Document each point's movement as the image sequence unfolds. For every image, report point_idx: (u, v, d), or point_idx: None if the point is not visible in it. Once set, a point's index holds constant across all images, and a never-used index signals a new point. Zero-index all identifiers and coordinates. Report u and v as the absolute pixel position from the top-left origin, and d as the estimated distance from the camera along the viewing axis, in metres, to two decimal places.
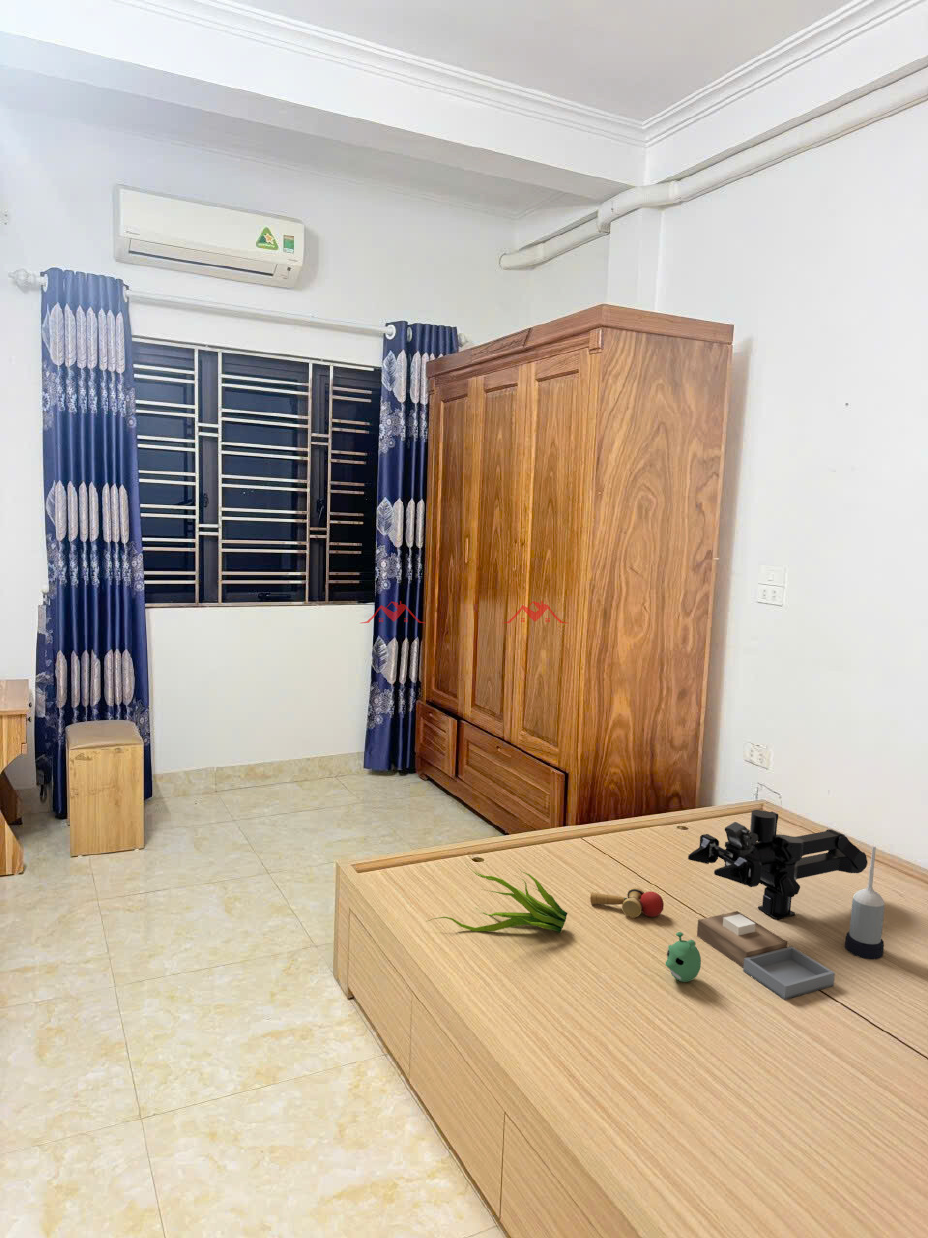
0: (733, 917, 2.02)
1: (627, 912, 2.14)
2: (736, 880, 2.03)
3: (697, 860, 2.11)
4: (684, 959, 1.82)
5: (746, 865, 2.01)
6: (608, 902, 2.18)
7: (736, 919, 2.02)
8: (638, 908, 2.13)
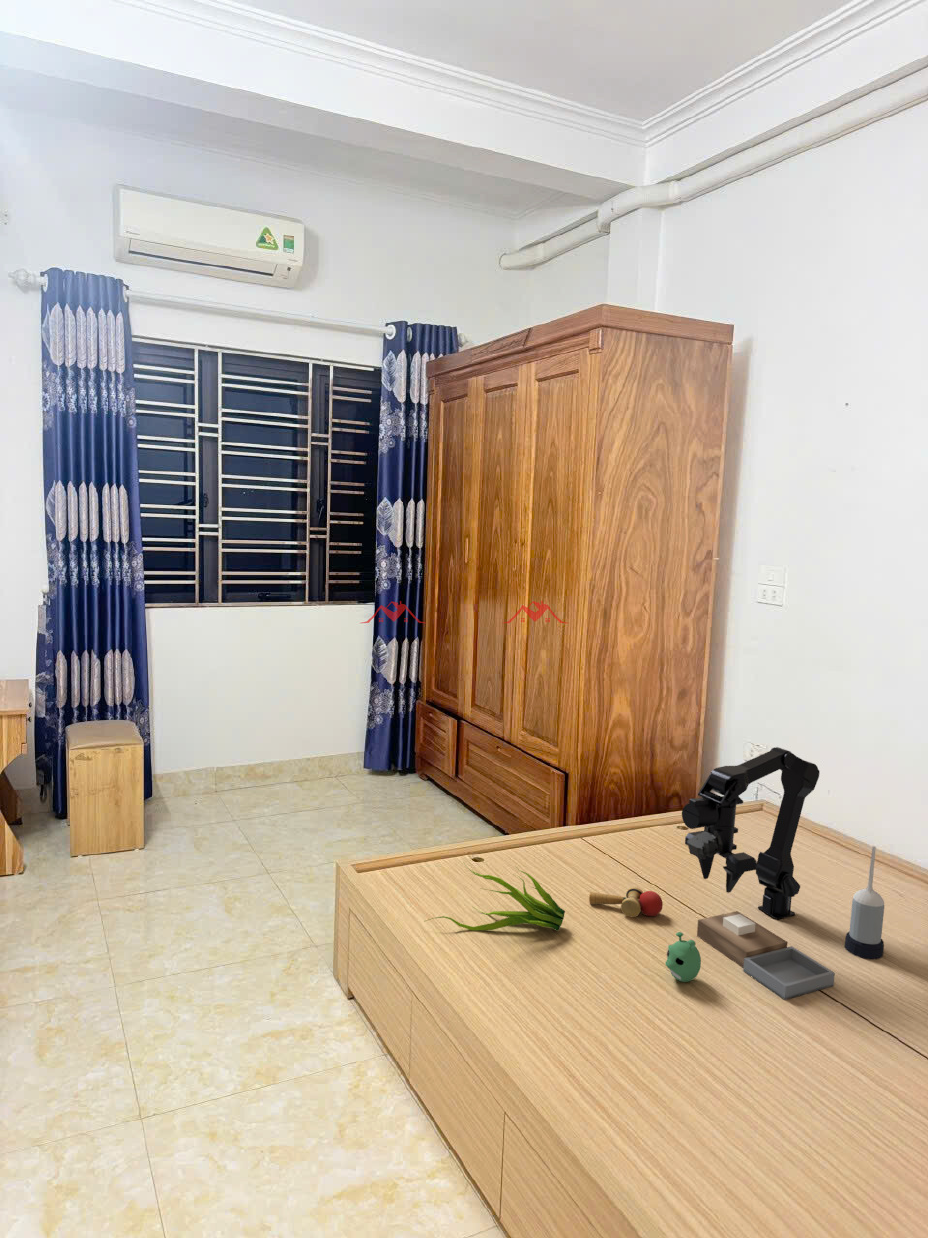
0: (733, 917, 2.02)
1: (626, 912, 2.15)
2: (742, 872, 2.02)
3: (710, 867, 2.11)
4: (684, 959, 1.82)
5: None
6: (607, 902, 2.18)
7: (736, 919, 2.02)
8: (637, 908, 2.13)
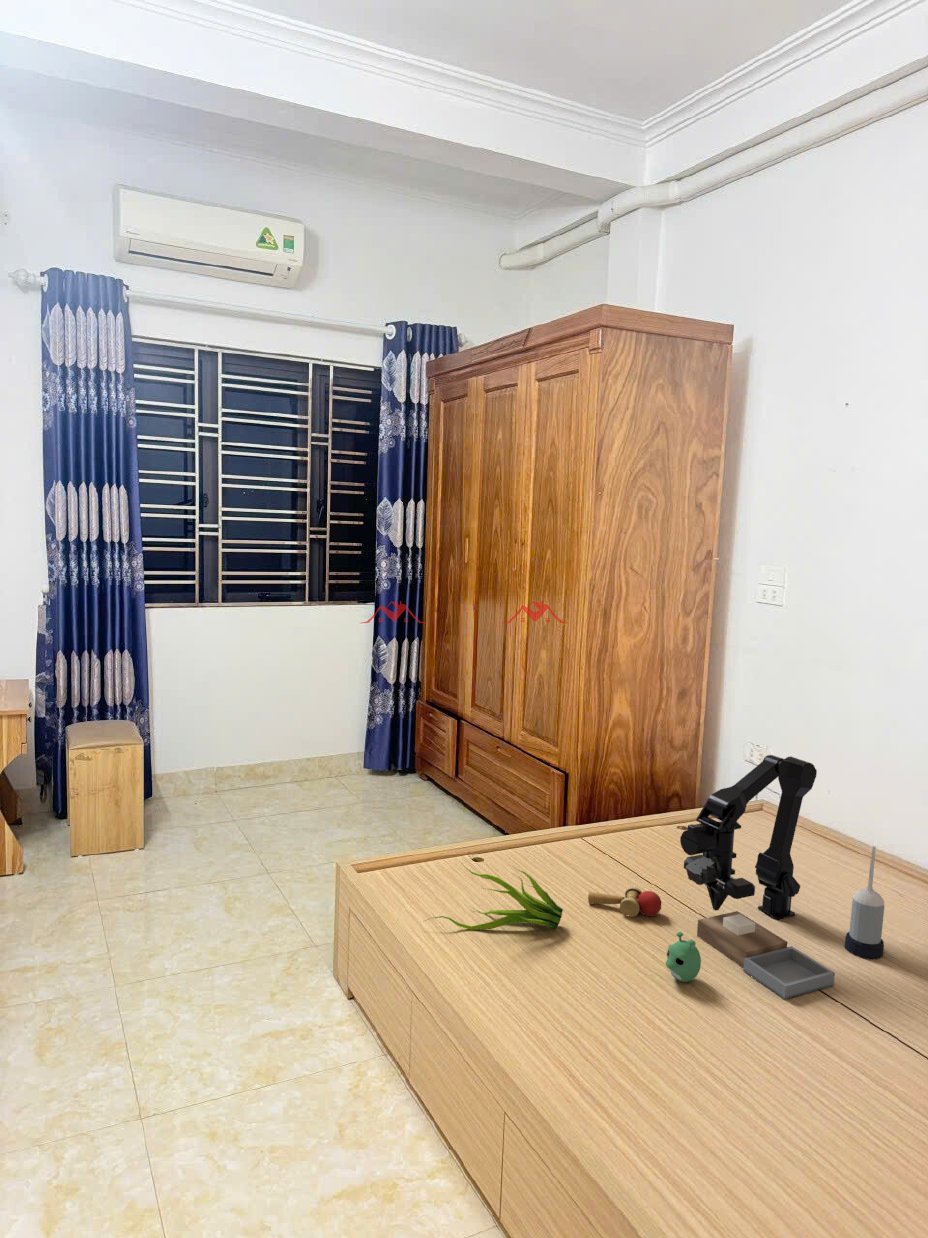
0: (733, 917, 2.02)
1: (625, 911, 2.15)
2: None
3: None
4: (684, 959, 1.82)
5: None
6: (606, 902, 2.18)
7: (736, 919, 2.02)
8: (636, 907, 2.13)
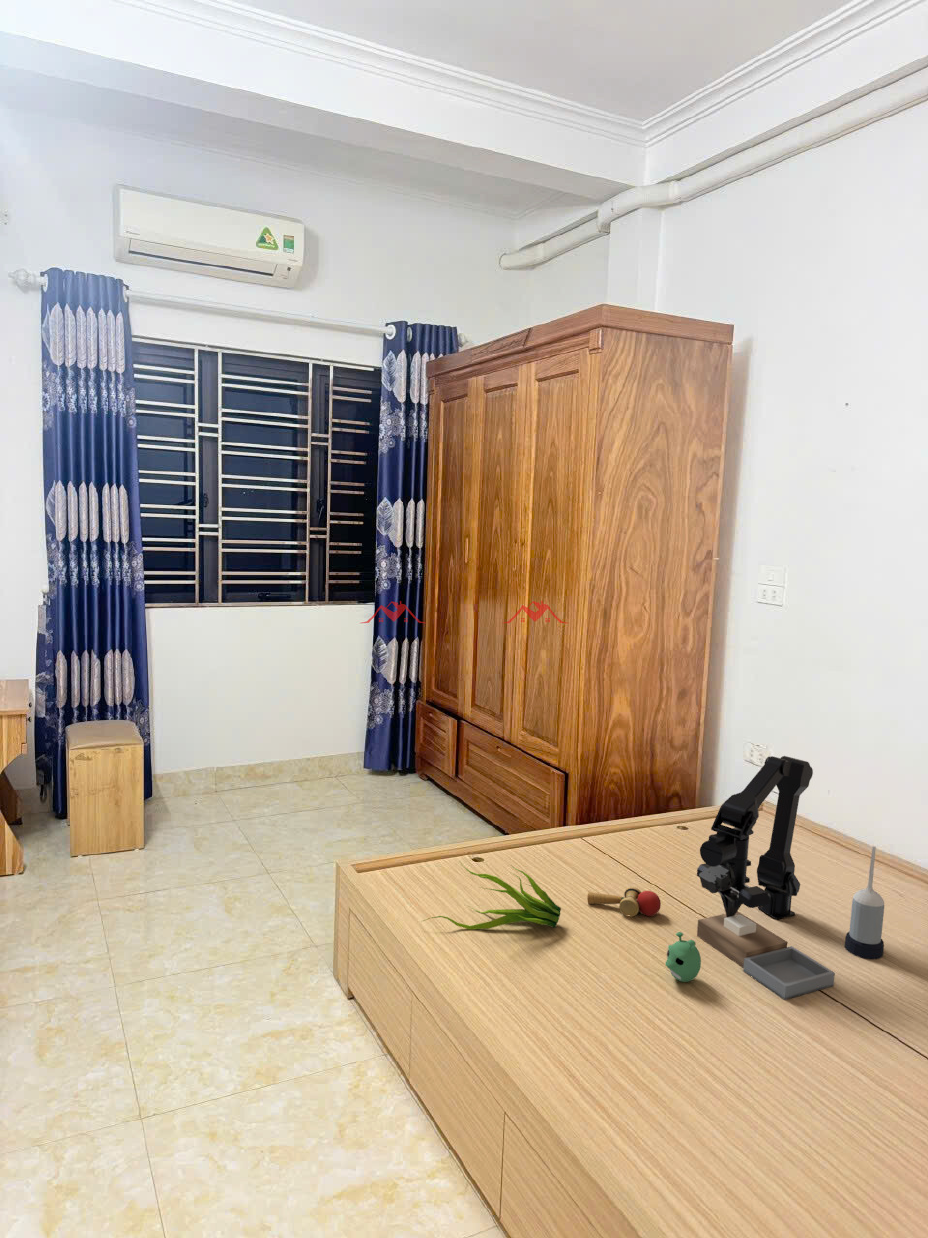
0: (734, 917, 2.02)
1: (624, 911, 2.15)
2: None
3: None
4: (684, 959, 1.82)
5: None
6: (605, 901, 2.18)
7: (737, 919, 2.01)
8: (635, 907, 2.13)
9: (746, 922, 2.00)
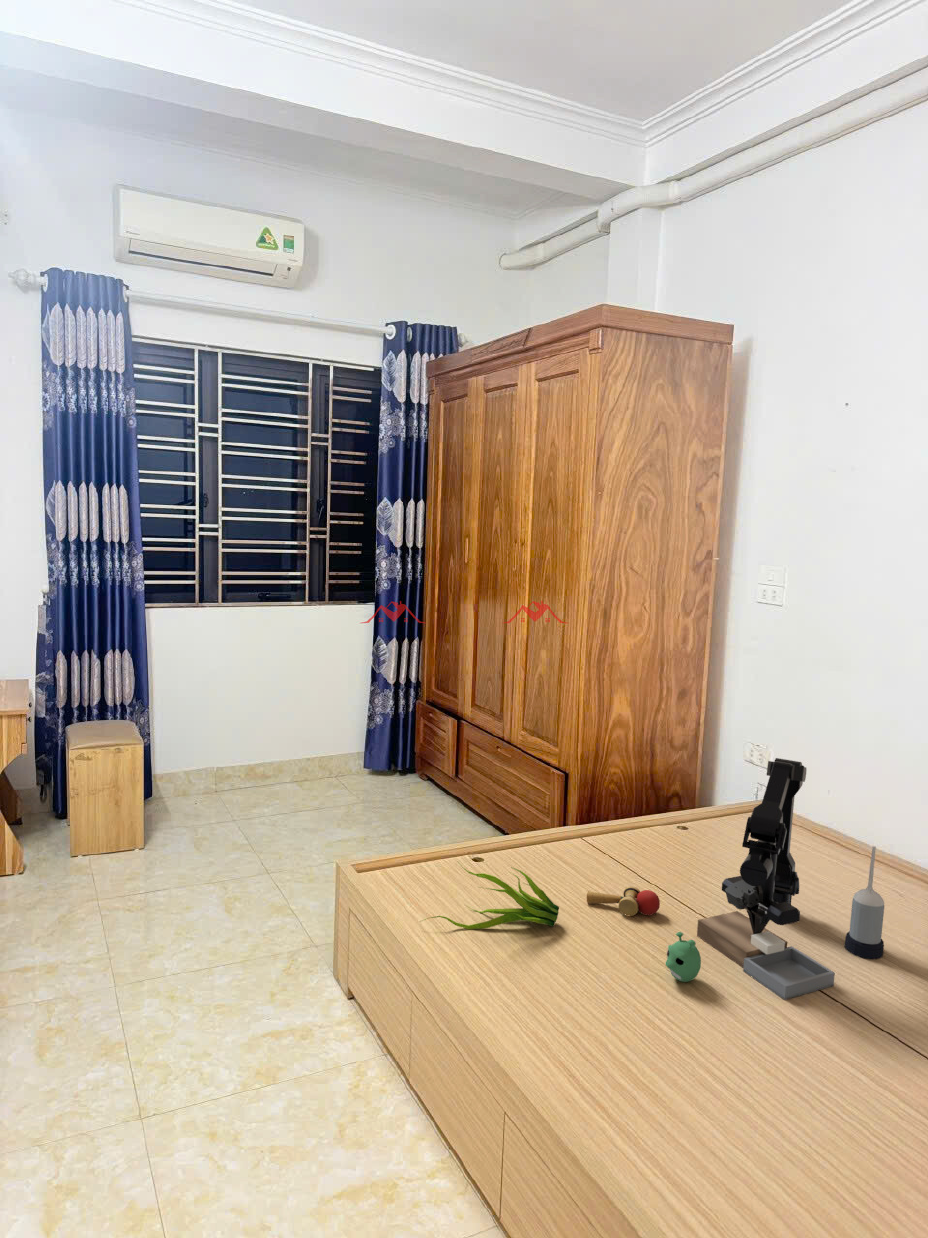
0: (761, 935, 1.94)
1: (623, 911, 2.15)
2: None
3: None
4: (684, 959, 1.82)
5: None
6: (604, 901, 2.18)
7: (765, 936, 1.94)
8: (634, 907, 2.14)
9: (774, 940, 1.92)
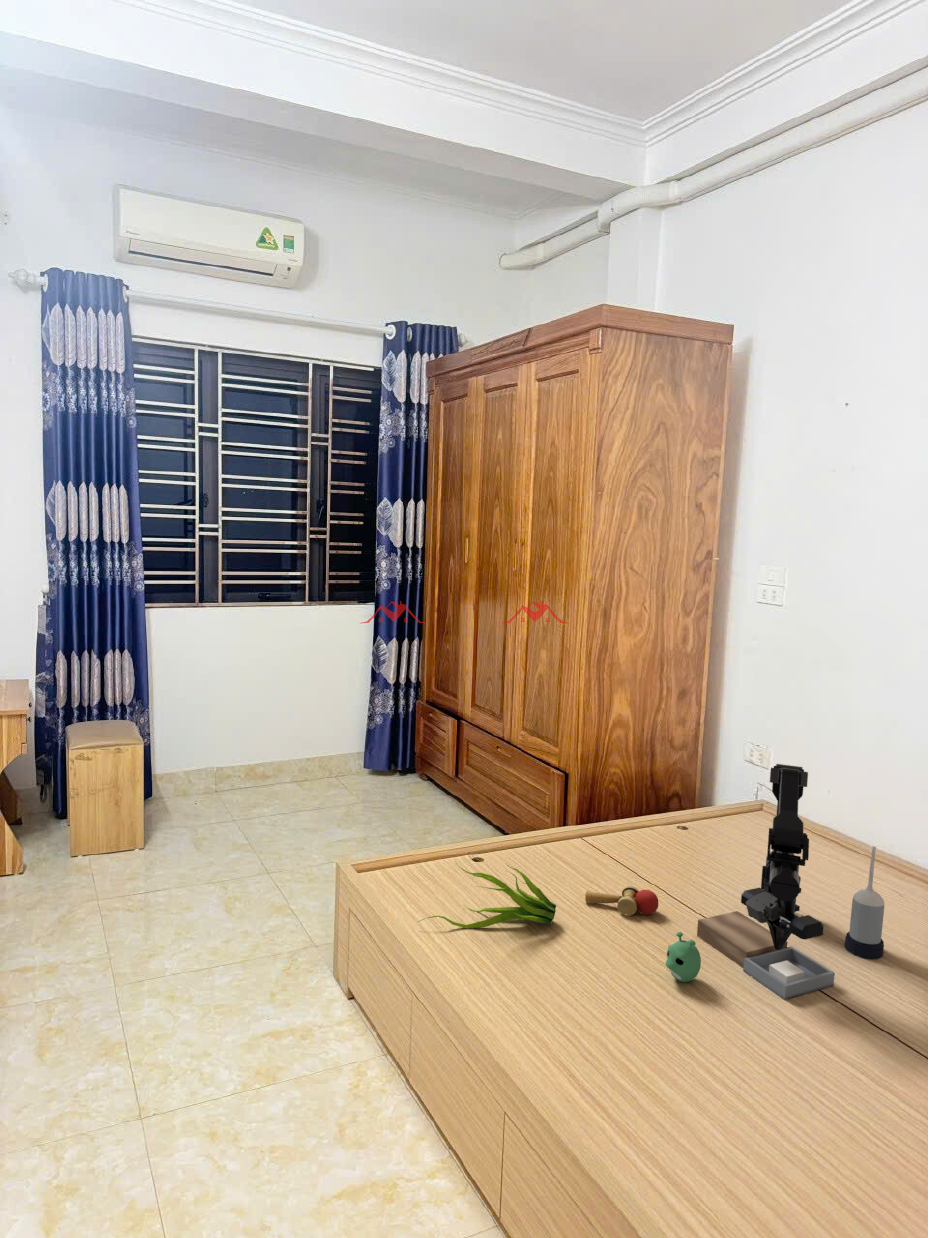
0: None
1: (622, 910, 2.15)
2: None
3: None
4: (684, 959, 1.82)
5: None
6: (603, 901, 2.19)
7: None
8: (633, 906, 2.14)
9: None
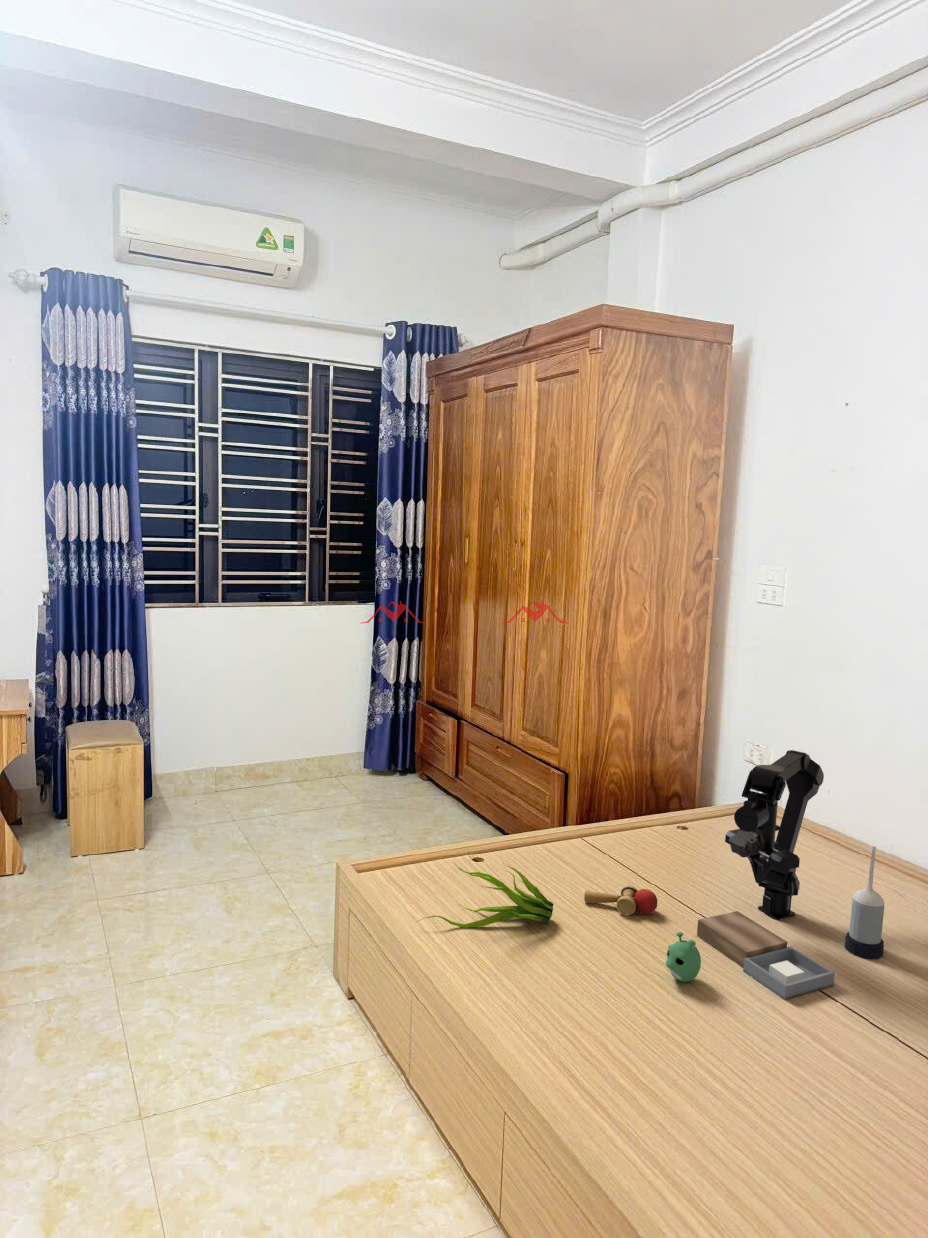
0: None
1: (621, 910, 2.15)
2: None
3: None
4: (684, 959, 1.82)
5: None
6: (602, 900, 2.19)
7: None
8: (632, 906, 2.14)
9: None
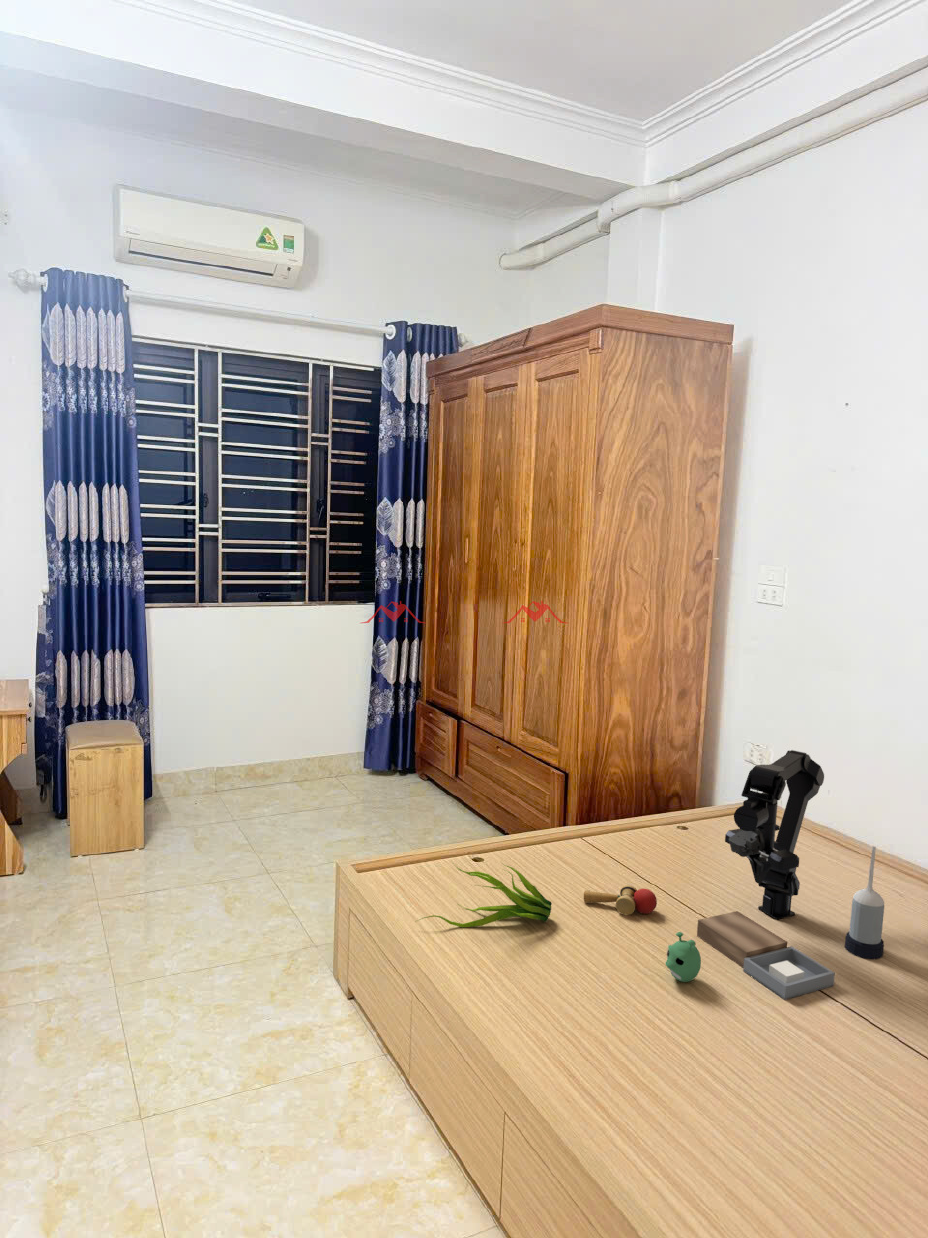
0: None
1: (621, 909, 2.16)
2: None
3: None
4: (684, 959, 1.82)
5: None
6: (601, 900, 2.19)
7: None
8: (632, 905, 2.14)
9: None
